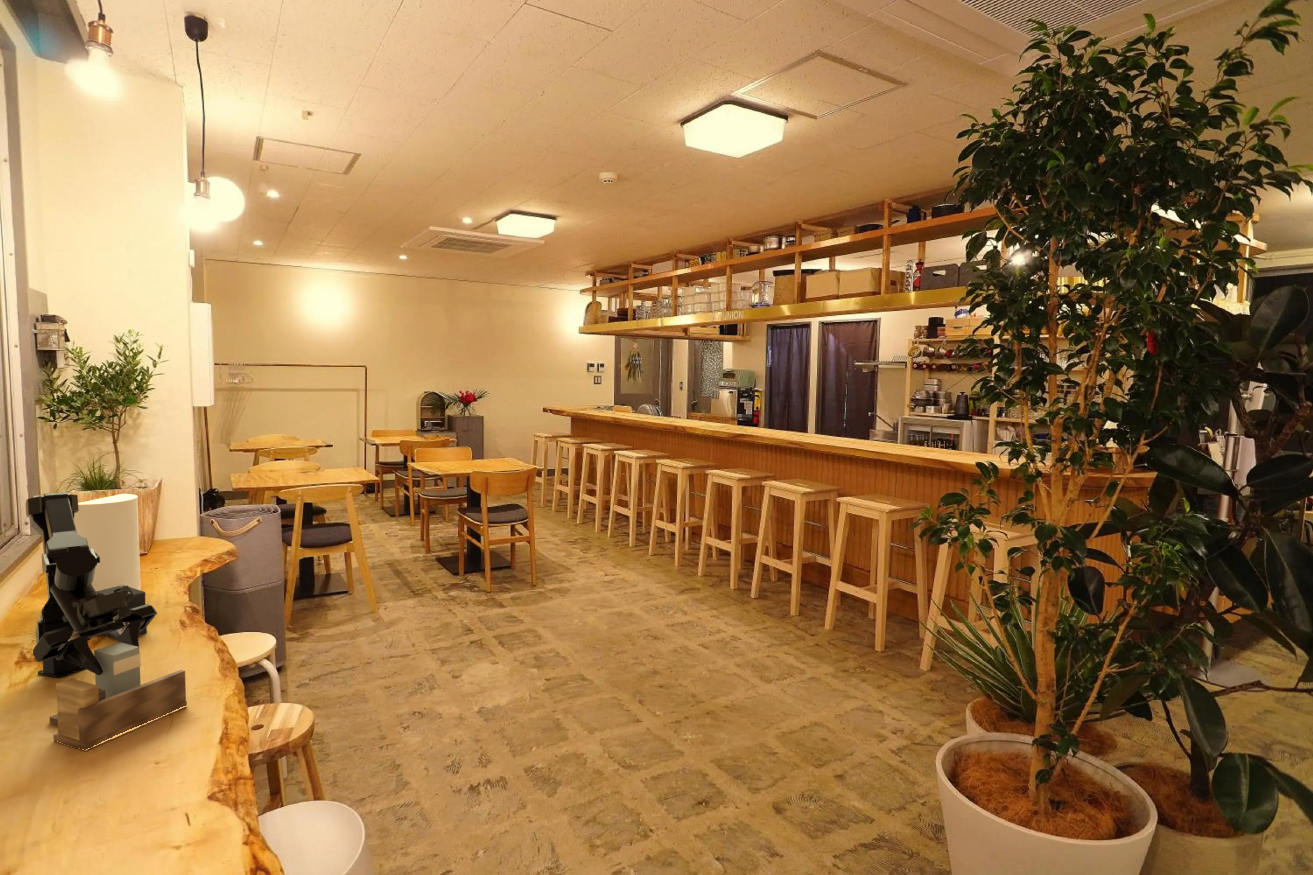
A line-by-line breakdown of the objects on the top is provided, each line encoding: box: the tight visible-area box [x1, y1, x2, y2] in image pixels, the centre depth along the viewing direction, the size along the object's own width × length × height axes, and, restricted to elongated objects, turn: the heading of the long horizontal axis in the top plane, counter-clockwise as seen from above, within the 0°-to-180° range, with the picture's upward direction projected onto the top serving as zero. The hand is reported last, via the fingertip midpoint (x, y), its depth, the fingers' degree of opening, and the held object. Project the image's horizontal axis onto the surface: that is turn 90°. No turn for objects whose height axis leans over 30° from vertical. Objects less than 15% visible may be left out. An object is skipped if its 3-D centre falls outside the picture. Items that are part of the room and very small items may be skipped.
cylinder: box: [74, 493, 142, 591], centre depth 194 cm, size 17×17×28 cm
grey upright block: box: [93, 642, 142, 698], centre depth 131 cm, size 5×6×11 cm
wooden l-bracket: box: [49, 669, 188, 750], centre depth 128 cm, size 18×16×10 cm
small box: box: [96, 585, 148, 640], centre depth 170 cm, size 11×6×10 cm, turn 62°
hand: (120, 667), depth 131 cm, fingers open, 6 cm apart
